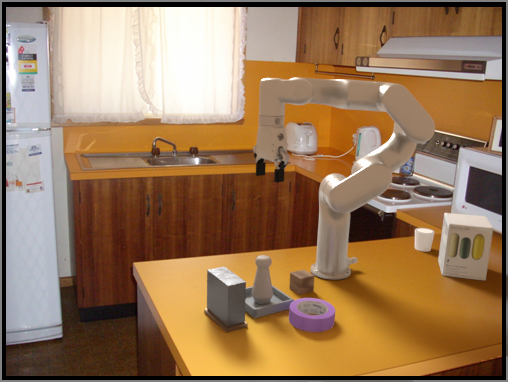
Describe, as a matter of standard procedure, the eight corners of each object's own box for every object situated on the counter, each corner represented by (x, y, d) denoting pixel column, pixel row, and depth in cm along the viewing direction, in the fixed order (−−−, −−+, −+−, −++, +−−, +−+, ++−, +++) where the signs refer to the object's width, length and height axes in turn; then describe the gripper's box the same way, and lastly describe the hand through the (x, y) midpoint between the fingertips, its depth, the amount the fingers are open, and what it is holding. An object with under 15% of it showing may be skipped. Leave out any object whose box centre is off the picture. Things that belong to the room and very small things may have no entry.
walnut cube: (303, 285, 155) (303, 269, 154) (313, 291, 151) (314, 275, 150) (289, 288, 152) (290, 272, 151) (299, 295, 148) (300, 278, 147)
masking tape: (330, 311, 140) (331, 298, 139) (337, 333, 128) (338, 319, 127) (287, 310, 139) (288, 296, 139) (290, 332, 128) (291, 318, 127)
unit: (224, 307, 139) (225, 265, 137) (247, 326, 130) (249, 282, 127) (204, 312, 136) (204, 269, 133) (226, 332, 126) (227, 287, 124)
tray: (268, 290, 150) (268, 282, 150) (293, 307, 140) (293, 299, 140) (230, 299, 144) (231, 291, 143) (254, 318, 134) (254, 309, 133)
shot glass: (434, 248, 189) (436, 229, 188) (429, 253, 184) (432, 234, 182) (415, 244, 193) (417, 226, 191) (410, 249, 187) (412, 231, 186)
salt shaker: (260, 294, 146) (262, 251, 143) (276, 301, 142) (278, 256, 139) (247, 301, 142) (248, 256, 138) (263, 308, 138) (265, 262, 135)
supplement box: (441, 276, 165) (448, 223, 160) (437, 261, 177) (443, 211, 173) (486, 281, 162) (494, 227, 157) (479, 265, 174) (486, 215, 170)
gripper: (300, 124, 147) (297, 183, 151) (265, 117, 160) (263, 172, 165) (278, 125, 142) (276, 186, 147) (244, 118, 156) (243, 174, 161)
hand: (269, 178), depth 156 cm, fingers open, 9 cm apart
